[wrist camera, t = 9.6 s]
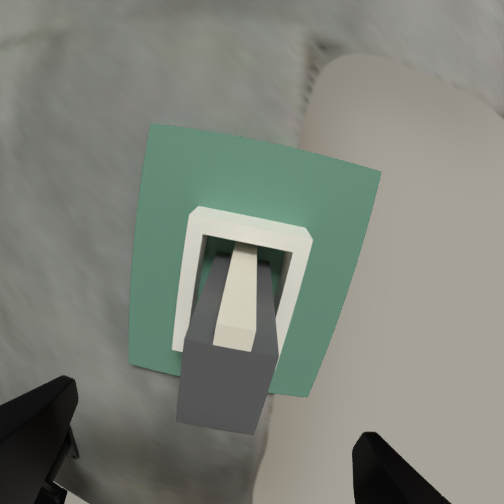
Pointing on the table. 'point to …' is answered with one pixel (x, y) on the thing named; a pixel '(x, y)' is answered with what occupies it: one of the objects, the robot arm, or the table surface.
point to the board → (244, 241)
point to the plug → (230, 345)
